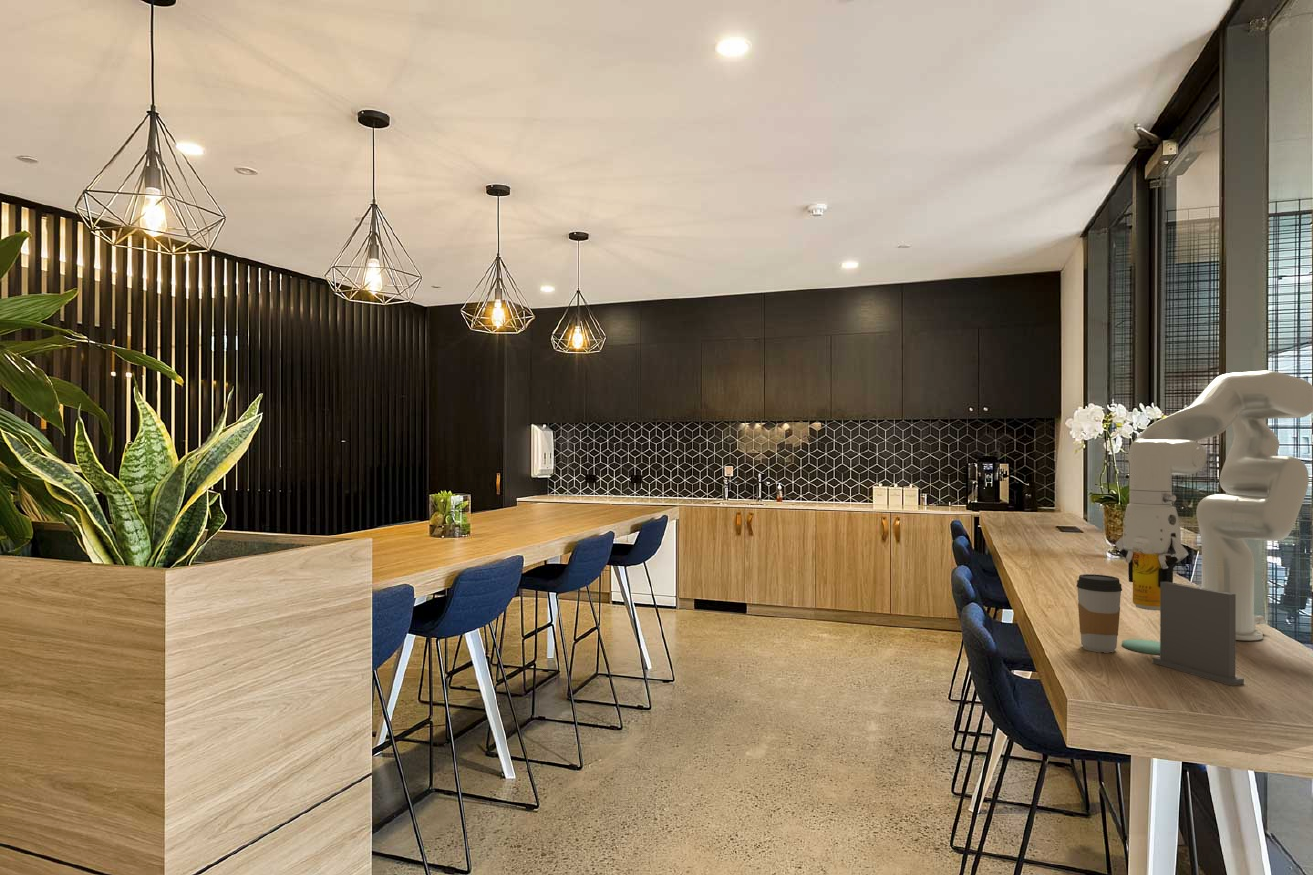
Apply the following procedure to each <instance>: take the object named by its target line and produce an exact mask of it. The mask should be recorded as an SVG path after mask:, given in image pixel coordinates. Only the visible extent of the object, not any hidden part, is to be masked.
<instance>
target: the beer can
mask: <svg viewBox="0 0 1313 875" xmlns="http://www.w3.org/2000/svg"><path fill="white" fill-rule="evenodd" d="M1166 560H1167V559H1166ZM1159 568H1162V567H1161V564H1160V561H1159V559H1158V554H1155V553H1154V552H1153V547H1152V543H1151V542H1150V541H1149V540H1148V538H1146V537H1138V536H1136V538H1135V539H1134V540H1133V582H1132V603H1133V604H1134V605H1135V607H1136V608H1137V609H1141V610H1142V609H1143V610H1147V611H1160V587H1159V586H1158V570H1159Z"/></svg>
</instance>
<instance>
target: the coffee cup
mask: <svg viewBox="0 0 1313 875" xmlns="http://www.w3.org/2000/svg"><path fill="white" fill-rule="evenodd" d="M1076 580H1077V581H1076V588H1077V599H1078V600H1077V601H1078V603H1077V605H1078V610H1077V611H1078V620H1079V621H1078V622H1079V633H1080V642H1081V646H1082V648H1083V649H1084V650H1086V651H1090V652H1096V653H1101V652H1104V653H1105V654H1108V653H1109V652H1112V653H1114V652H1116V650H1117V648H1118V647H1117V646H1118V644H1117V643H1118V636H1119V627H1120V614H1121V594H1122V591H1123V588H1122V585H1123V584H1122V583H1120V582H1121V581H1120V578H1118V577H1117V576H1111V575H1106V574H1105V575H1104V574H1095V573H1094V574H1093V573H1092V574H1091V573H1090V574H1089V573H1088V574H1085V573H1084V574H1080V575H1079V576H1078V579H1076ZM1109 654H1110V653H1109Z"/></svg>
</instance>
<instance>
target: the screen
mask: <svg viewBox="0 0 1313 875" xmlns="http://www.w3.org/2000/svg"><path fill="white" fill-rule="evenodd" d="M1159 612H1160V614H1159V615H1160V618H1159V621H1160V624H1159V625H1160V628H1159V630H1160V631H1159V632H1160V633H1159V634H1160V636H1159V638H1160V640H1159V642H1160V655H1159V656H1155V657H1152V663H1153V664H1156V665H1158V666H1163V667H1165V668H1169V669H1174V670H1175V671H1176V670H1177V671H1180V672H1183V673H1187V674H1191V675H1193V676H1198V677H1200V678H1204V679H1206V680H1210V681H1214V682H1218V683H1220V684H1224V685H1228V686H1232V687H1234V686H1241V684H1242V685H1244V684H1245V679H1244V677H1240V676H1236V640H1235V639H1236V594H1232V593H1227V592H1221V591H1216V590H1210V589H1205V588H1202V587H1199V586H1192V585H1187V584H1184V583H1183V584H1182V583H1177V582H1173V583H1172V582H1160V610H1159Z"/></svg>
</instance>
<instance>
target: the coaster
mask: <svg viewBox="0 0 1313 875" xmlns="http://www.w3.org/2000/svg"><path fill="white" fill-rule="evenodd" d="M1121 646H1122V647H1123V648H1125V649H1126V650H1130V651H1134V652H1137V653H1142V654H1149V655H1158V656H1160V641H1158V640H1150V639H1142V638H1141V639H1139V638H1133V639H1132V638H1131V639H1130V638H1129V639H1124V640H1122V641H1121Z"/></svg>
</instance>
